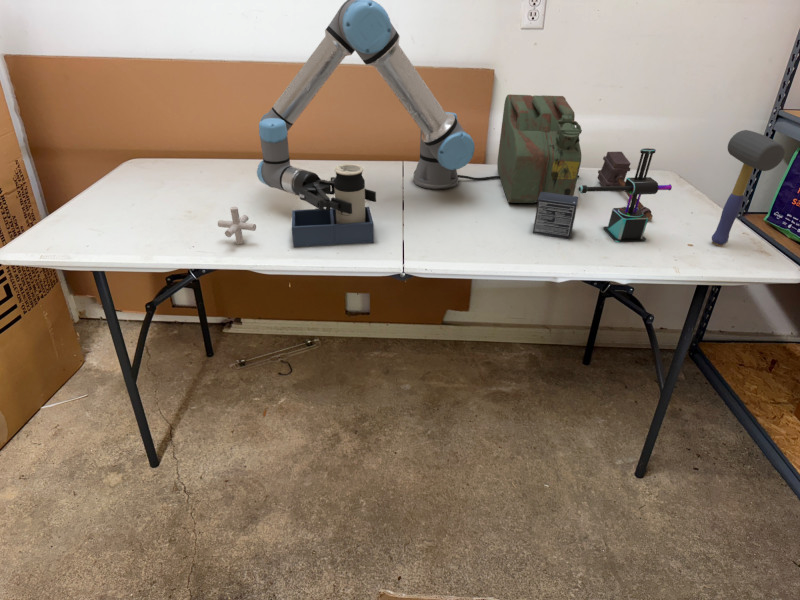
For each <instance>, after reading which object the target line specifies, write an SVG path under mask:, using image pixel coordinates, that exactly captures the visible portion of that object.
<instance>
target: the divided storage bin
mask: <svg viewBox="0 0 800 600" xmlns="http://www.w3.org/2000/svg"><path fill="white" fill-rule="evenodd" d="M330 209H331V210H330V211H326V208H324V209H323V210H320V209H318V208H311V209H308V208H307V209H292V210H291V236H292V244H293V248H306V247H307V248H309V247H322V246H323V247H324V246H339V245H341V246H342V245H358V244H374V242H375V237H374V235H375V234H374V233H375V232H374V229H375V228H374V224H375V223H374V220H373V216H372V213H371V208H370V206H365V223H347V224H336V209H333V208H330Z"/></svg>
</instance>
